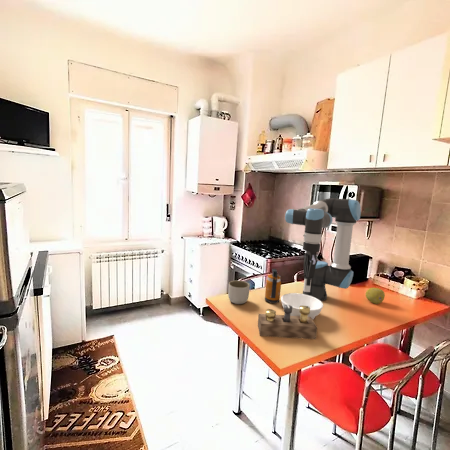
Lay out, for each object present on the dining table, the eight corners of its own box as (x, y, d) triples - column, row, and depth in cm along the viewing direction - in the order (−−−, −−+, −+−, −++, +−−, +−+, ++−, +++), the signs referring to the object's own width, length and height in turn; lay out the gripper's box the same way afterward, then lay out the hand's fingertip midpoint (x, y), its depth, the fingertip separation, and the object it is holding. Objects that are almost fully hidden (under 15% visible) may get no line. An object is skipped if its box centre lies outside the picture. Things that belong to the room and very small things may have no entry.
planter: (244, 296, 170) (245, 280, 168) (251, 305, 158) (252, 287, 157) (225, 297, 166) (226, 280, 165) (231, 306, 155) (232, 288, 153)
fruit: (387, 305, 171) (389, 290, 169) (374, 306, 167) (376, 291, 166) (373, 298, 180) (375, 284, 179) (361, 299, 177) (363, 285, 175)
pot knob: (289, 323, 132) (291, 304, 131) (291, 327, 128) (293, 308, 127) (281, 322, 132) (283, 303, 131) (283, 326, 128) (284, 307, 127)
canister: (278, 298, 170) (281, 267, 167) (280, 306, 159) (283, 273, 157) (264, 297, 171) (266, 266, 168) (265, 304, 160) (267, 272, 157)
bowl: (276, 305, 161) (277, 291, 160) (314, 307, 160) (316, 294, 159) (283, 324, 138) (284, 308, 137) (327, 327, 138) (329, 311, 137)
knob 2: (306, 324, 132) (308, 305, 131) (309, 329, 128) (311, 310, 126) (296, 323, 132) (298, 305, 131) (299, 328, 128) (301, 309, 126)
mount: (309, 328, 135) (310, 317, 135) (315, 339, 125) (317, 327, 125) (257, 324, 136) (258, 313, 135) (259, 335, 126) (260, 323, 125)
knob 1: (273, 327, 133) (275, 309, 132) (275, 332, 128) (276, 314, 127) (263, 327, 133) (265, 308, 132) (264, 332, 128) (266, 313, 127)
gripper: (300, 239, 131) (295, 285, 134) (307, 244, 118) (302, 296, 121) (315, 240, 131) (310, 286, 134) (325, 245, 118) (319, 297, 121)
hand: (306, 291), depth 127 cm, fingers closed
